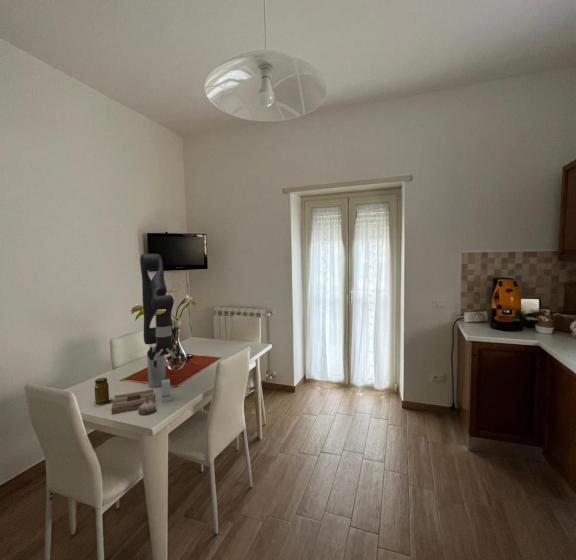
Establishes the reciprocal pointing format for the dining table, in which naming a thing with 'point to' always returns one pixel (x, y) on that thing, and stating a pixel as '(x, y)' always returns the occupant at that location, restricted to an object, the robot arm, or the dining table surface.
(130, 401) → the board
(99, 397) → the condiment
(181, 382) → the dining table surface
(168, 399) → the peg
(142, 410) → the garlic bulb
